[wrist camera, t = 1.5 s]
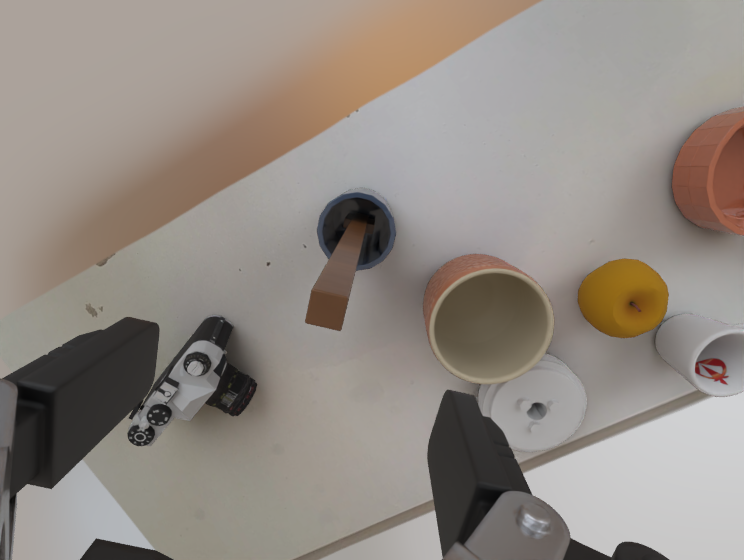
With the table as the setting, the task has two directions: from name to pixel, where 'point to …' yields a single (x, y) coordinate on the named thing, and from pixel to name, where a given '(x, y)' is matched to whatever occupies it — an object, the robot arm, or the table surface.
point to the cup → (704, 353)
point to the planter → (486, 319)
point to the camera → (193, 384)
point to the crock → (373, 244)
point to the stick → (338, 275)
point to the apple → (623, 298)
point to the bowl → (713, 174)
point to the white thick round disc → (536, 405)
